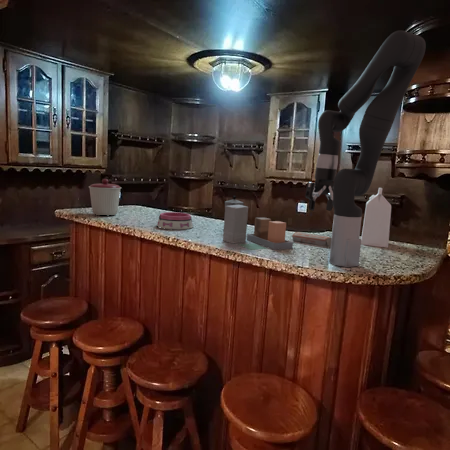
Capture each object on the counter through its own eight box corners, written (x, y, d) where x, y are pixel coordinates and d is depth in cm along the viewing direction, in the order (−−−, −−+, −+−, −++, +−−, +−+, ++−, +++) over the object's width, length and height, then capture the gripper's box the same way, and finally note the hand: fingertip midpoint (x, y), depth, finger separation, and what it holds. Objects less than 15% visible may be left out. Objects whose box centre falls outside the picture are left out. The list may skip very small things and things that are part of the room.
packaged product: (334, 236, 163) (326, 239, 155) (333, 246, 164) (325, 250, 156) (296, 230, 173) (286, 232, 165) (295, 240, 174) (286, 243, 165)
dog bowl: (196, 230, 183) (196, 217, 182) (157, 230, 179) (158, 216, 178) (190, 224, 201) (190, 212, 200) (155, 224, 196) (155, 211, 195)
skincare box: (235, 239, 165) (237, 204, 162) (247, 242, 160) (249, 206, 157) (221, 241, 159) (223, 204, 156) (233, 244, 154) (235, 206, 151)
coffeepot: (241, 235, 177) (244, 197, 174) (221, 234, 177) (223, 196, 174) (242, 230, 192) (244, 195, 189) (224, 228, 192) (226, 194, 190)
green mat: (267, 249, 148) (267, 248, 148) (250, 251, 144) (250, 249, 144) (254, 244, 156) (254, 243, 156) (237, 245, 153) (237, 244, 153)
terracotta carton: (284, 247, 152) (286, 223, 151) (274, 247, 150) (276, 223, 148) (277, 244, 157) (278, 221, 155) (267, 245, 154) (269, 221, 153)
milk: (388, 247, 167) (395, 189, 163) (360, 244, 171) (367, 187, 167) (386, 242, 178) (393, 188, 174) (361, 240, 182) (367, 186, 178)
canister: (102, 218, 204) (102, 179, 201) (81, 214, 214) (81, 177, 210) (127, 215, 219) (128, 179, 216) (107, 212, 229) (107, 177, 225)
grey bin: (292, 249, 151) (292, 242, 151) (273, 250, 147) (274, 243, 146) (264, 239, 169) (264, 233, 168) (246, 240, 164) (247, 234, 164)
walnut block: (269, 242, 161) (271, 219, 160) (259, 242, 159) (261, 219, 157) (262, 239, 166) (264, 217, 164) (253, 240, 163) (255, 217, 162)
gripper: (318, 167, 131) (311, 212, 134) (348, 169, 138) (341, 212, 141) (304, 165, 138) (299, 208, 141) (333, 167, 144) (327, 208, 147)
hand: (320, 210), depth 141 cm, fingers open, 8 cm apart
